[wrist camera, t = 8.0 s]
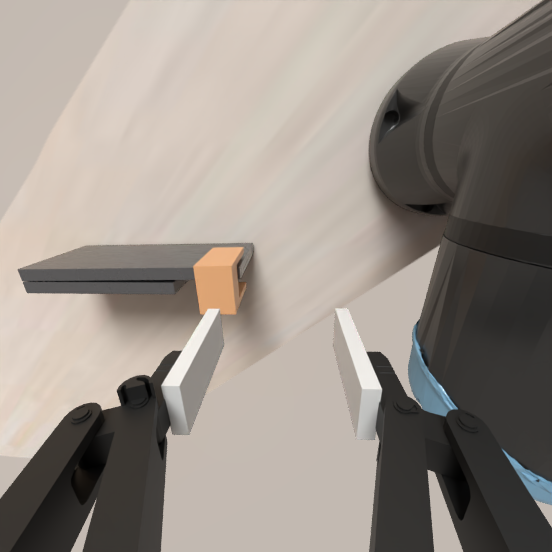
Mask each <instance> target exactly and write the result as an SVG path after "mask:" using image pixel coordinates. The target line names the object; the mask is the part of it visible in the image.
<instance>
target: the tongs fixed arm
mask: <svg viewBox="0 0 552 552" xmlns="http://www.w3.org/2000/svg"><path fill="white" fill-rule="evenodd" d="M217 247H244V253H243V255H242V257H241V259H240V260H239V262H238V264H237V275H238V279H241V278H242V276H243V273H244V271H245V269H246V267H247V265H248V263H249V261H250V259H251V257H252V254H253V243H231V244H168V245H104V246H83V247H81V248H78V249H75V250H72V251H69V252H66V253H63V254H61V255H58V256H55V257H52V258H49V259H46V260H43V261H40V262H38V263H35V264H32V265H29V266H26V267H23V268H20V269H18V272H19V274H20V277H21V279H22V281H89V280H195V275H194V269H193V266H194V265H195V264H196V263H197V262H198V261H199V260H200V259H201V258H202V257H204V256H205V255H206V254H207V253H208V252H209V251H210V250H211V249H212V248H217Z"/></svg>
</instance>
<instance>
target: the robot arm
mask: <svg viewBox="0 0 552 552" xmlns="http://www.w3.org/2000/svg"><path fill="white" fill-rule="evenodd" d="M369 156H370V164H371V168H372V172H373V175H374V177H375V180H376V182H377V184H378V186H379V187H380V189H381V190H382V191H383V193H384V194H385V195H386V196H387V197H388V198H389V199H390V200H391V201H393V202H394V203H395V204H397V205H399V206H400V207H402V208H405V209H407V210H410V211H413V212H417V213H420V214H425V215H435V216H441V215H449V218H448V222H447V225H446V229H445V232H444V234H443V237H442V240H441V244H440V248H439V251H438V255H437V259H436V262H435V266H434V270H433V273H432V277H431V281H430V284H429V288H428V292H427V295H426V299H425V303H424V307H423V310H422V313H421V317H420V319H419V321H418V322H417V323H416V325H415V326H414V329H413V332H412V341H413V345H412V350H411V355H410V360H409V365H408V376H409V382H410V386H411V389H412V392H413V394H414V396H415V398H416V400H417V401H418V402H419V403H420V404H421V406H422V409H421V407H420V406H419V404H418V403H417V402H416V401H414V400H413V399H412V398H410V397H408V396H407V394H406V393H405V391H404V389H403V387H402V385H401V383H400V381H399V379H398V377H397V375H396V374H395V372H394V370H393V368H392V366H391V364H390V362H389V360H388V359H387V358H386V357H385V356H384V355H383V354H382V353H381V352H366V350H365V348H364V346H363V343H362V341H361V339H360V337H359V334H358V332H357V329H356V327H355V325H354V322H353V320H352V318H351V315H350V313H349V311H348V309H335V321H334V338H333V347H334V351H335V355H336V359H337V363H338V367H339V371H340V375H341V379H342V383H343V388H344V391H345V395H346V399H347V404H348V408H349V411H350V415H351V420H352V424H353V427H354V432H355V436H356V439H360V440H363V439H364V440H375V434H376V432H377V435H378V437H379V440H380V442H379V448H378V455H377V470H376V481H375V493H374V504H373V516H372V527H371V538H370V549H369V552H434V545H433V533H432V520H431V509H430V496H429V484H428V472H427V470H431V471H433V472H435V474H436V477H437V479H438V482H439V485H440V488H441V491H442V493H443V496H444V499H445V502H446V504H447V507H448V510H449V512H450V515H451V518H452V521H453V524H454V527H455V530H456V532H457V535H458V538H459V540H460V543H461V546H462V549H463V552H552V527H551V526H550V524H549V523H548V521H547V519H546V518H545V516H544V515H543V513H542V512H541V510H540V508H539V507H538V505H537V504H536V502H535V501H534V500H536V501H539V502H542V503H546V504H550V505H552V0H542V1H541V2H539V3H538V4H537V5H535V6H534V7H532V8H531V9H529V10H528V11H527V12H525V13H524V14H522V15H521V16H520V17H518V18H517V19H515V20H514V21H512V22H511V23H509V24H508V25H507V26H505V27H504V28H502V29H501V30H499V31H498V32H497V33H495V34H494V35H492V36H491V37H484V38H477V39H470V40H464V41H459V42H456V43H453V44H450V45H447V46H445V47H443V48H440V49H438V50H436V51H434V52H433V53H431V54H429V55H428V56H426V57H425V58H423V59H422V60H420V61H419V62H418V63H417V64H415V65H414V66H413V67H412V68H411V69H410V70H408V71H407V72H406V73H405V74H404V75H403V76H402V77H401V78H400V79H399V80H398V81H397V82H396V83H395V84H394V86H393V87H392V88H391V89H390V91H389V92H388V94H387V95H386V97H385V98H384V100H383V102H382V103H381V105H380V107H379V109H378V112H377V114H376V117H375V119H374V122H373V126H372V130H371V135H370V142H369ZM223 347H224V339H223V330H222V322H221V313H220V309H208V310H207V312H206V313H205V315H204V316H203V318H202V320H201V321H200V323H199V325H198V326H197V328H196V329H195V331H194V333H193V334H192V336H191V338H190V339H189V341H188V343H187V344H186V346H185V347H184V349H183V351H172V352H171V353H169V354H168V355H167V356H166V357H165V358H164V359H163V361H162V362H161V363H160V365H159V366H158V368H157V369H156V371H155V372H154V374H153V375H152V376H151V378H150V377H149V376H146V375H140V376H135V377H132V378H130V379H128V380H126V381H125V382H123V383H122V384H121V385H120V386H119V388H118V389H117V393H118V397H119V400H120V403H121V406H119V407H115V408H111V409H106V410H102V409H101V406H100V405H99V404H97V403H87V404H83V405H81V406H79V407H76V408H75V409H73V410H72V411H70V412H69V413H68V414H67V415H66V416H65V417H64V418H63V420H62V421H61V422H60V423H59V425H58V426H57V427H56V428H55V430H54V431H53V432H52V434H51V435H50V436H49V437H48V439H47V440H46V441H45V442H44V444H43V445H42V446H41V448H40V449H39V450H38V451H37V453H36V454H35V455H34V456H33V458H32V459H31V460H30V462H29V463H28V464H27V466H26V467H25V468H24V469H23V471H22V472H21V473H20V474H19V476H18V477H17V478H16V480H15V481H14V482H13V483H12V485H11V486H10V487H9V488H8V490H7V491H6V492H5V494H4V495H3V496H2V497H1V499H0V552H71V549H72V548H73V546H74V543H75V542H76V539H77V537H78V535H79V533H80V531H81V529H82V527H83V525H84V523H85V521H86V519H87V517H88V515H89V513H90V511H91V509H92V507H93V505H94V502H95V500H96V498H97V500H96V504H95V507H94V511H93V515H92V518H91V522H90V526H89V529H88V534H87V537H86V541H85V544H84V549H83V552H161V537H162V521H163V505H164V488H165V472H166V454H167V438H166V433H167V431H168V429H169V427H170V426H171V431H172V434H174V435H175V434H176V435H189V434H190V432H191V429H192V426H193V424H194V421H195V419H196V416H197V413H198V411H199V408H200V406H201V403H202V401H203V398H204V396H205V393H206V390H207V388H208V385H209V383H210V380H211V378H212V375H213V372H214V370H215V367H216V365H217V362H218V360H219V357H220V354H221V352H222V349H223Z"/></svg>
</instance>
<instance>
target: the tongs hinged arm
mask: <svg viewBox="0 0 552 552" xmlns="http://www.w3.org/2000/svg"><path fill="white" fill-rule="evenodd" d="M187 281H188V280H89V281H24V282H23V284H24V287H25V289H26V292H27V293H79V294H176V293H177V292H178V291H179V290H180V288H181V287H182V286H183V285H184V284H185V283H186V282H187Z"/></svg>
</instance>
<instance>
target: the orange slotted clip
mask: <svg viewBox="0 0 552 552" xmlns="http://www.w3.org/2000/svg"><path fill="white" fill-rule="evenodd" d="M243 253H244V247H217V248H212V249H211V250H210V251H209V252H208V253H207V254H206V255H205V256H204V257H202V258H201V259H200V260H199V261H198V262H197V263H196V264H195V265H194V266H193V269H194V275H195V282H196V289H197V296H198V302H199V309H200V314H205V313H206V312H207V310H208V309H220V313H221V314H236V313H237V310H238V308H239V305H240V303H241V300H242V298H243V295H244V292H245V290H246V282H238V275H237V264H238V262H239V260H240V259H241V257H242V255H243Z"/></svg>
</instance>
